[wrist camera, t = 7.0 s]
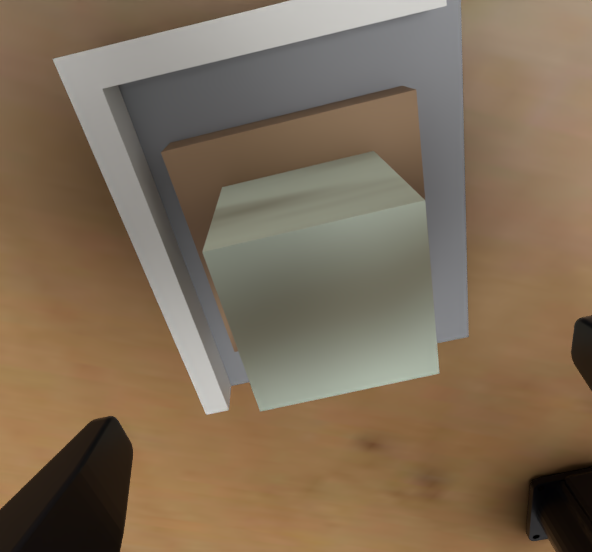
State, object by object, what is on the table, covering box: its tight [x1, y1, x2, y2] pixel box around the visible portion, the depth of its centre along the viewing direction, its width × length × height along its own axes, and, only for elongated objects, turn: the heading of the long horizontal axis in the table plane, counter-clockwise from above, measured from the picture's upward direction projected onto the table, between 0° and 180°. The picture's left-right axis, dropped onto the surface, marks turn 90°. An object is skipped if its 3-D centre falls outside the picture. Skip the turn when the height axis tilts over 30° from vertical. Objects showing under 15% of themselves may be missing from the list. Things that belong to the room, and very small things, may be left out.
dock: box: [53, 0, 469, 415], centre depth 17 cm, size 14×12×4 cm
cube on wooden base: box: [161, 86, 439, 411], centre depth 13 cm, size 8×8×6 cm
